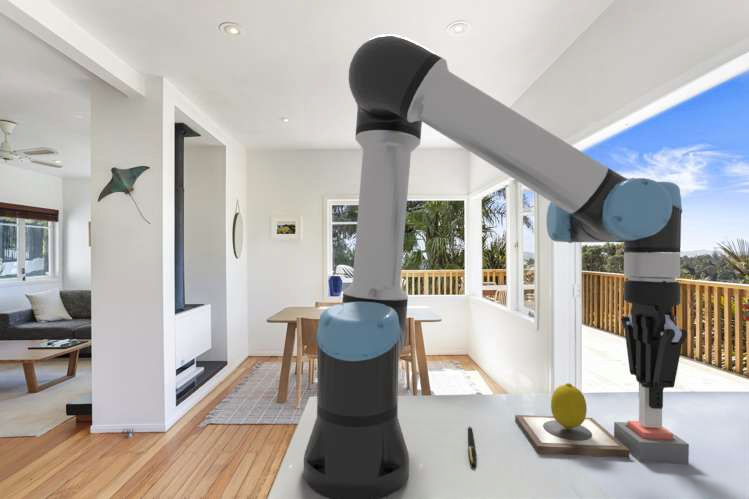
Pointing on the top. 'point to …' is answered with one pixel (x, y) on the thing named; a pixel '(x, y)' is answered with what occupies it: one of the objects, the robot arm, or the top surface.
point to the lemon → (568, 406)
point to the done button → (649, 431)
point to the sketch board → (569, 437)
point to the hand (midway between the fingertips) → (650, 425)
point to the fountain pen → (471, 448)
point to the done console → (652, 446)
